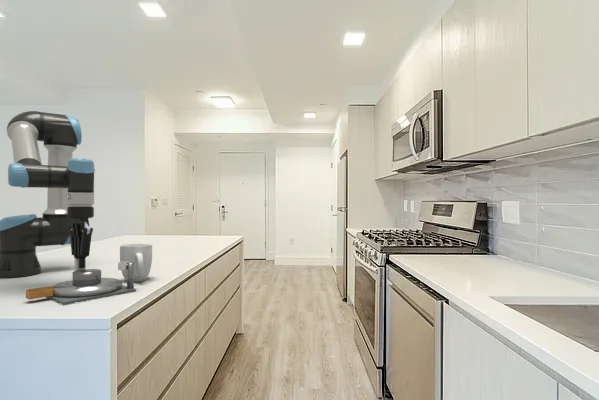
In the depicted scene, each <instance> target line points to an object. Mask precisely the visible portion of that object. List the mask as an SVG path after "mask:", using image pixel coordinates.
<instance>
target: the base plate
mask: <svg viewBox="0 0 599 400" xmlns="http://www.w3.org/2000/svg"><path fill="white" fill-rule="evenodd" d="M135 292H137V288H135V287H134V288H132V289H127V285H124V284H122V287H121V288H120V289H118V290H115V291H112V292H108V293H103V294H98V295H91V296H80V297H60V296H49V297H45V299H46V298H47V299H49V300H51V301H53V302H55V301H56V302H55V303H57V302H58V303H57V304H60V303H61V304H60V305H62V304H63V305H62V306H66V305H65V304H67V305H71V304H70V303H72V304H76V303H75V302H78V303H82V302H81V301H83V302H87V300H88V301H92V299H93V300H97V299H98V298H99V299H103V297H104V298H110V297H114V296H119V295H124V294H129V293H135Z"/></svg>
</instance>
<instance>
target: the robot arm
mask: <svg viewBox="0 0 599 400" xmlns="http://www.w3.org/2000/svg"><path fill="white" fill-rule="evenodd" d="M6 134H7V137H8V138H9V139H10V141H11V147H12V154H13V162H14V163H13V162H12V163H10V164H8V169H7V179H8V181H7V183H8V185H9V186H11V187H13V188H14V187H16V188H18V187H19V188H41V189H43V188H44V189H47V202H46V203H47V207H46V210H44V211H43V212H42V217H37V214H35V213H31V214H20V215H11V216H7V217H3V218H1V219H0V279H5V278H6V279H8V278H9V279H10V278H21V277H22V278H23V277H29V276H34V275H38V274H40V273H41V272H42V266H41V264H40V261H39V259H38V255H37V250H36V249H37V247H49V246H66V245H70V249H71V250H70V251H71V256H73V258H74V271H77V270H84V269H87V268H86V267H87V266H86V262H87V261H86V259H87V257H89V256H90V251H91V242H92V234H93V232H94V227H90V221H89V219H91V218H95V208H94V206H93V205H95V191H94V190H95V171H96V169H95V162H94V160H92V159H89V158H81V157H80V158H79V157H76V158H75V157H74V158H73V152H74V151H76V150H77V149H78V148H77V147H78V145H81V143H82V137H83V136H82V135H83V134H82V128H81V124H80V121H79V119H78V118H77V117H75V116H73V115H72V116H71V115H67V114H59V113H50V112H43V111H36V110H28V111H25V112H21V113H19V114H16V115H15V116H14V117H12V118H11V119H10V120H9V121H8V123H7V126H6ZM38 142H43V147H44V148H45V149H46V150H47V164H43V163H42V158H41V154H40V153H41V152H40V149H39V144H38Z"/></svg>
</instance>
